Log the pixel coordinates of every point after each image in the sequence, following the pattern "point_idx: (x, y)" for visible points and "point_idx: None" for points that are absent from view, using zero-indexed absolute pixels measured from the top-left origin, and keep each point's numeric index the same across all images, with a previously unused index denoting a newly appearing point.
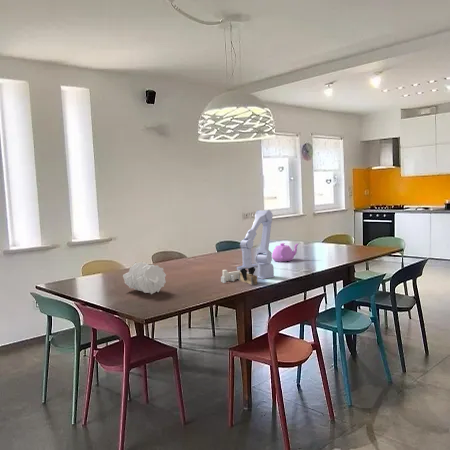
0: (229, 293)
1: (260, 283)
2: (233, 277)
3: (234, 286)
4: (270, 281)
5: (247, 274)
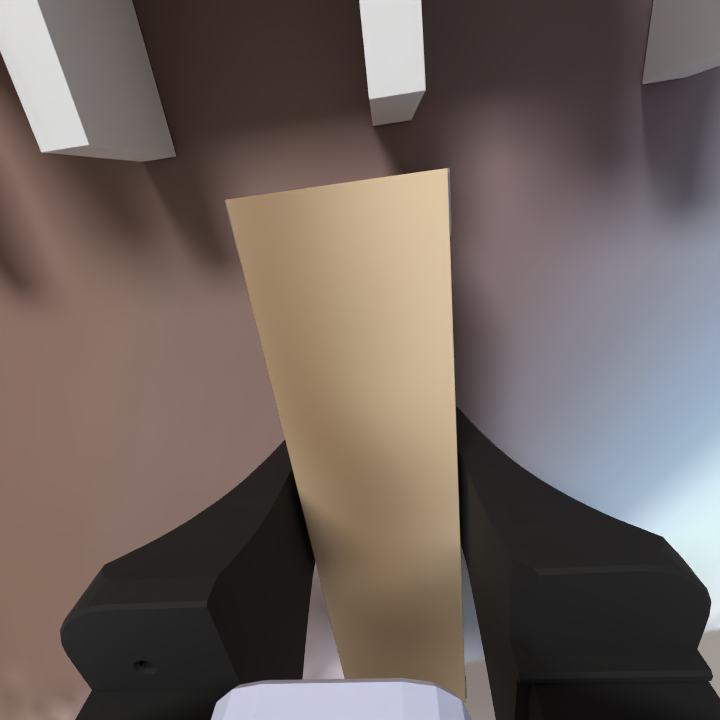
0: (8, 700)
1: None
2: (92, 155)
3: (98, 520)
4: (691, 550)
5: (380, 516)
